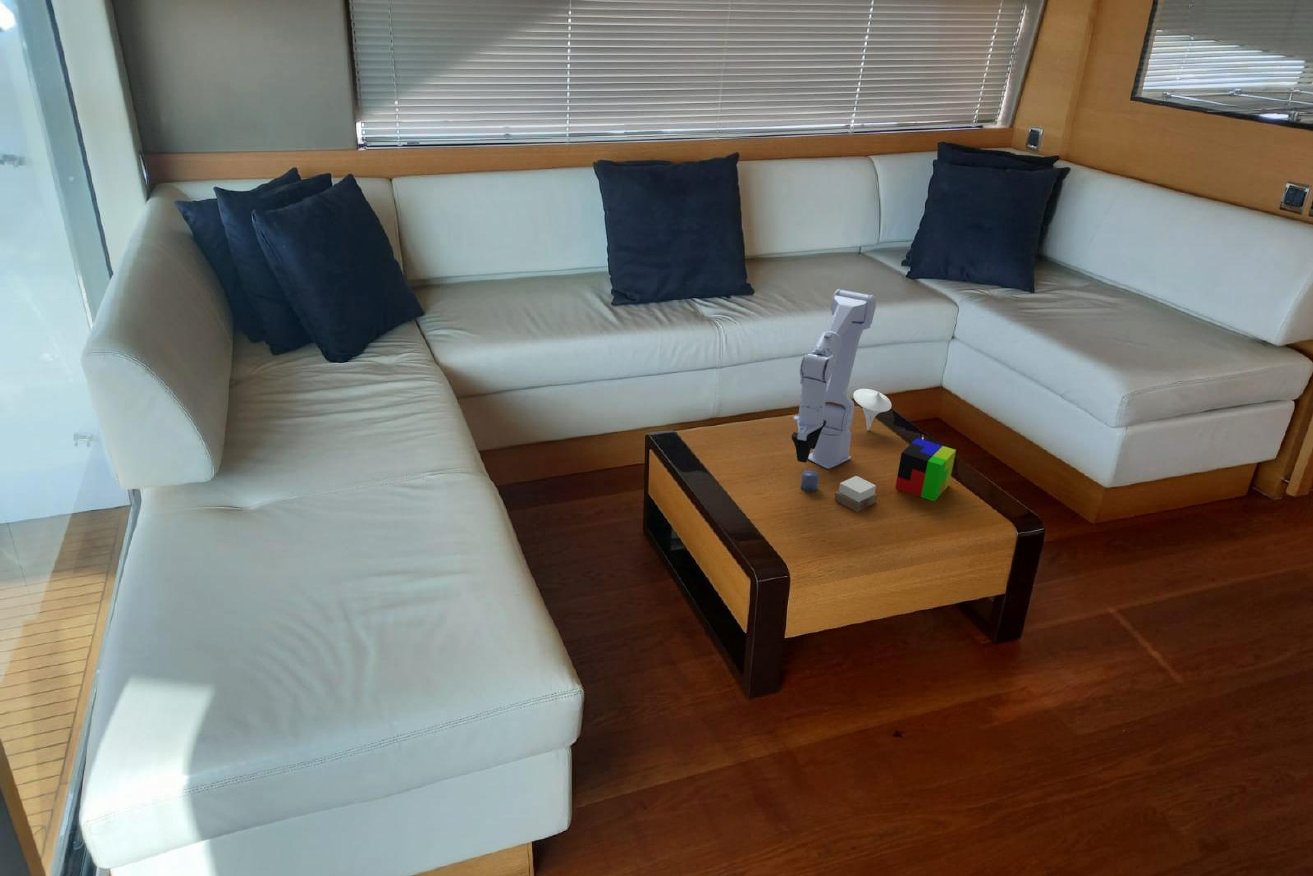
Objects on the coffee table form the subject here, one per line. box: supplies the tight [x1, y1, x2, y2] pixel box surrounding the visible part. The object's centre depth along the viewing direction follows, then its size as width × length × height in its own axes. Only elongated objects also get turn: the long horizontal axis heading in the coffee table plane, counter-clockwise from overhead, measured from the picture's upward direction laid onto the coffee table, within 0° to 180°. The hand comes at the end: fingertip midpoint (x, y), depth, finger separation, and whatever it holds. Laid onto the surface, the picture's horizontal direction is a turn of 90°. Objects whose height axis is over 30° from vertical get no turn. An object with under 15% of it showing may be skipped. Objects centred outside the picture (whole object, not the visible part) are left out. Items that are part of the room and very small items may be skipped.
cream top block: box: [838, 475, 877, 502], centre depth 222 cm, size 6×6×2 cm
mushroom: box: [852, 388, 892, 431], centre depth 256 cm, size 10×11×12 cm
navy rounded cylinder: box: [800, 469, 820, 493], centre depth 227 cm, size 4×4×4 cm
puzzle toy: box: [894, 438, 957, 502], centre depth 229 cm, size 10×10×10 cm
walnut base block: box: [834, 490, 878, 513], centre depth 223 cm, size 7×7×2 cm
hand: (806, 454), depth 224 cm, fingers open, 7 cm apart
